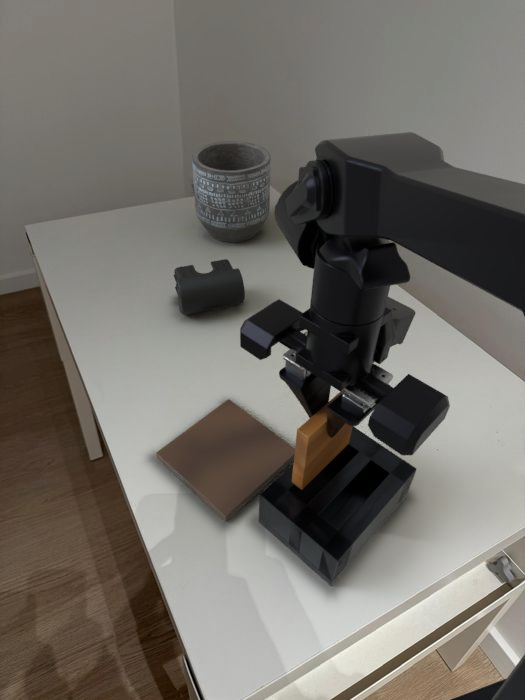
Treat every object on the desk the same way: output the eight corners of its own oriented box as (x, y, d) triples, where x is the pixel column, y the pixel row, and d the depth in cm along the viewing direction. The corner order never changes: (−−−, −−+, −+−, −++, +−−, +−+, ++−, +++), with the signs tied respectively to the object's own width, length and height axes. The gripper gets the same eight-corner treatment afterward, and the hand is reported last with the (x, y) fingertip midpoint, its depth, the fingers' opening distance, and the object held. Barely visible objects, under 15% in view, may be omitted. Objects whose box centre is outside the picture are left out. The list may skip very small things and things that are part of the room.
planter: (208, 209, 108) (204, 137, 98) (274, 216, 106) (277, 144, 96) (187, 243, 98) (180, 167, 88) (261, 253, 96) (262, 176, 86)
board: (297, 456, 62) (298, 450, 62) (226, 522, 56) (225, 516, 55) (228, 404, 68) (228, 398, 68) (157, 458, 62) (155, 452, 61)
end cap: (184, 326, 80) (180, 290, 76) (174, 299, 85) (170, 265, 80) (245, 313, 83) (245, 278, 78) (232, 288, 88) (231, 254, 83)
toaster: (410, 491, 59) (421, 463, 56) (331, 586, 51) (337, 561, 47) (341, 442, 64) (347, 413, 61) (258, 522, 56) (259, 494, 52)
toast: (349, 443, 56) (360, 390, 50) (301, 490, 52) (308, 438, 46) (338, 436, 57) (349, 383, 51) (291, 482, 52) (296, 429, 47)
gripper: (508, 309, 40) (453, 435, 50) (318, 223, 49) (306, 345, 59) (435, 385, 33) (390, 510, 44) (234, 270, 43) (237, 396, 53)
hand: (326, 429), depth 50 cm, fingers closed on toast, 1 cm apart
